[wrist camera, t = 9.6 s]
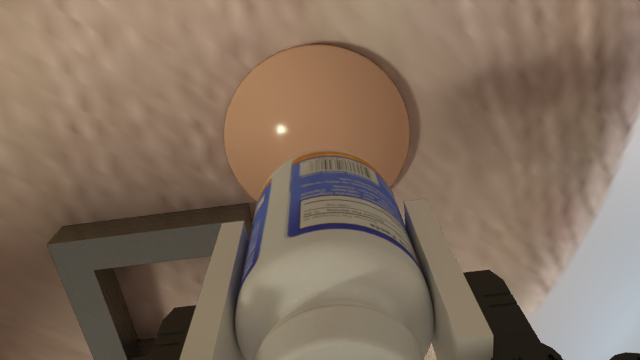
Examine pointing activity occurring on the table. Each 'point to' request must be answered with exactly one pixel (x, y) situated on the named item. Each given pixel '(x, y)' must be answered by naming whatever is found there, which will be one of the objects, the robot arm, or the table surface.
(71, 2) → the table surface
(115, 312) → the socket plate
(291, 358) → the pill bottle
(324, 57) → the coaster
